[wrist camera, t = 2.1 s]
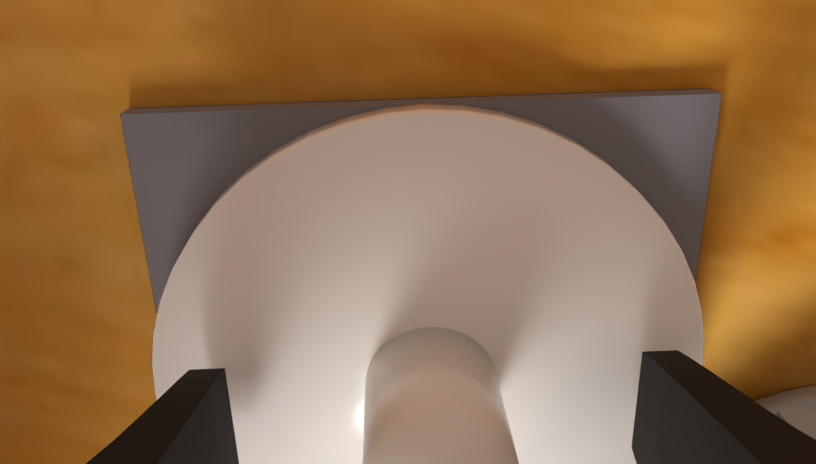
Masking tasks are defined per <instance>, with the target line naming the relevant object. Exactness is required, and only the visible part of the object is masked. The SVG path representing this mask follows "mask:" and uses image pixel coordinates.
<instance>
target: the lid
mask: <svg viewBox="0 0 816 464" xmlns="http://www.w3.org/2000/svg"><path fill="white" fill-rule="evenodd" d="M669 350H678V351H680V352H681V353H683V354H685V355H687V356H688V357H690V358H691V359H693V360H694V361H696V362H697V363H699V364H700V365H703V352H704V333H703V320H702V310H701V306H700V302H699V297H698V293H697V289H696V285H695V281H694V278H693V276H692V273H691V271H690V269H689V266H688V264H687V261H686V259H685V256H684V254H683V252H682V250H681V248H680V246H679V245H678V243H677V242H676V240H675V238H674V237H673V235H672V233H671V232H670V230H669V228H668V227H667V225H666V224H665V222H664V221H663V220H662V218H661V217H660V216H659V215H658V214H657V213H656V211H655V210H654V209H653V208H652V207H651V205H650V204H649V203H648V202H647V201H646V200H645V198H644V197H643V196H642V195H641V194H640V193H639V192H638V191H637V190H636V189H635V188H634V187H633V186H632V185H631V183H630V182H629V181H628V180H627V179H625V178H624V177H623V176H622V175H621V174H620V173H619V172H617V171H616V170H615V169H614V168H613V167H612V166H610V165H609V164H608V163H607V162H606V161H605V160H604V159H602V158H601V157H600V156H598V155H597V154H595V153H594V152H592V151H590V150H589V149H587V148H586V147H584V146H583V145H581V144H580V143H578V142H576V141H575V140H573V139H572V138H570V137H568V136H566V135H563V134H561V133H559V132H557V131H555V130H553V129H550V128H548V127H546V126H544V125H542V124H540V123H537V122H534V121H531V120H527V119H524V118H521V117H518V116H514V115H511V114H508V113H505V112H501V111H495V110H489V109H483V108H477V107H471V106H465V105H440V104H418V105H408V106H398V107H388V108H382V109H377V110H373V111H369V112H364V113H360V114H356V115H351V116H347V117H344V118H341V119H339V120H336V121H333V122H331V123H328V124H325V125H323V126H320V127H317V128H315V129H312V130H310V131H308V132H306V133H304V134H302V135H300V136H298V137H296V138H295V139H293V140H291V141H289V142H287V143H285V144H283V145H281V146H280V147H278V148H276V149H275V150H273V151H272V152H270V153H269V154H268V155H266V156H265V157H264V158H262V159H261V160H259V161H258V162H257V163H255V164H254V165H253V166H251V167H250V168H248V169H247V170H246V171H245V172H244V173H243V174H242V175H241V176H240V177H239V178H238V179H237V180H235V181H234V182H233V183H232V184H231V185H230V186H229V187H228V188H227V189H226V190H225V191H224V192H223V193H222V194H221V195H220V196H219V198H218V199H217V200H216V202H215V203H214V204H213V205H212V207H211V208H210V209H209V211H208V212H207V213H206V214H205V216H204V217H203V218H202V220H201V221H200V222H199V224H198V225H197V227H196V229H195V230H194V232H193V234H192V235H191V237H190V239H189V240H188V242H187V244H186V246H185V247H184V249H183V251H182V253H181V254H180V256H179V258H178V260H177V262H176V263H175V265H174V267H173V269H172V271H171V273H170V276H169V279H168V281H167V284H166V287H165V289H164V292H163V295H162V297H161V300H160V304H159V309H158V314H157V318H156V323H155V328H154V333H153V355H152V369H153V378H154V387H155V396H156V399H157V400H158V399H159V398H160V397H161V396H162V395H163V394H164V393H165V392H166V391H167V390H168V389H169V388H170V387H171V386H172V385H173V384H174V383H175V382H176V381H177V380H179V379H180V378H181V377H182V376H183V375H184V374H185V373H186V372H187V371H188V370H192V369H217V368H225V372H226V379H227V386H228V392H229V399H230V406H231V413H232V419H233V426H234V433H235V440H236V446H237V453H238V460H239V464H636V460H635V457H634V454H633V451H632V438H633V429H634V421H635V412H636V403H637V394H638V385H639V377H640V368H641V359H642V352H644V351H669Z"/></svg>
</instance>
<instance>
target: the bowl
mask: <svg viewBox="0 0 816 464" xmlns="http://www.w3.org/2000/svg"><path fill="white" fill-rule="evenodd" d="M755 402H756V403H758V404H759V405H761V406H762V407H764V408H765V409H767V410H768V411H770V412H772V413H773V414H775V415H776V416H778V417H779V418H781V419H782V420H784V421H786V422H787V423H789V424H790V425H792V426H794V427H795V428H797V429H798V430H800V431H802V432H803V433H805V434H807V435H809V436H810V437H812V438H814V439H815V440H816V385H812V386H807V387H803V388H798V389H793V390H788V391H784V392H780V393H777V394H774V395H771V396H768V397H764V398H761V399H758V400H756V401H755Z"/></svg>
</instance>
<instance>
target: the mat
mask: <svg viewBox="0 0 816 464" xmlns="http://www.w3.org/2000/svg"><path fill="white" fill-rule="evenodd" d="M721 96H722V93H720V92H718V91H716V90H714V89H689V90H660V91H631V92H602V93H573V94H544V95H515V96H486V97H457V98H427V99H398V100H369V101H340V102H311V103H282V104H253V105H224V106H195V107H166V108H137V109H127V110H126V111H124V112H123V113H121V114H120V117H121V122H122V128H123V133H124V139H125V144H126V149H127V155H128V160H129V166H130V171H131V177H132V182H133V188H134V193H135V198H136V204H137V209H138V215H139V220H140V226H141V231H142V237H143V242H144V247H145V253H146V258H147V264H148V269H149V275H150V280H151V286H152V291H153V296H154V302H155V307H156V313H157V314H158V309H159V304H160V300H161V297H162V295H163V292H164V289H165V287H166V284H167V281H168V279H169V276H170V273H171V271H172V269H173V267H174V265H175V263H176V262H177V260H178V258H179V256H180V254H181V253H182V251H183V249H184V247H185V246H186V244H187V242H188V240H189V239H190V237H191V235H192V234H193V232H194V230H195V229H196V227H197V225H198V224H199V222H200V221H201V220H202V218H203V217H204V216H205V214H206V213H207V212H208V211H209V209H210V208H211V207H212V205H213V204H214V203H215V202H216V200H217V199H218V198H219V196H220V195H221V194H222V193H223V192H224V191H225V190H226V189H227V188H228V187H229V186H230V185H231V184H232V183H233V182H234V181H235V180H237V179H238V178H239V177H240V176H241V175H242V174H243V173H244V172H245V171H246V170H247V169H248V168H250V167H251V166H253V165H254V164H255V163H257V162H258V161H259V160H261V159H262V158H264V157H265V156H266V155H268V154H269V153H270V152H272V151H273V150H275V149H276V148H278V147H280V146H281V145H283V144H285V143H287V142H289V141H291V140H293V139H295V138H296V137H298V136H300V135H302V134H304V133H306V132H308V131H310V130H312V129H315V128H317V127H320V126H323V125H325V124H328V123H331V122H333V121H336V120H339V119H341V118H344V117H347V116H351V115H356V114H360V113H364V112H369V111H373V110H377V109H382V108H388V107H398V106H408V105H418V104H440V105H465V106H471V107H477V108H483V109H489V110H495V111H501V112H505V113H508V114H511V115H514V116H518V117H521V118H524V119H527V120H531V121H534V122H537V123H540V124H542V125H544V126H546V127H548V128H550V129H553V130H555V131H557V132H559V133H561V134H563V135H566V136H568V137H570V138H572V139H573V140H575V141H576V142H578V143H580V144H581V145H583V146H584V147H586V148H587V149H589V150H590V151H592V152H594V153H595V154H597V155H598V156H600V157H601V158H602V159H604V160H605V161H606V162H607V163H608V164H609V165H610V166H612V167H613V168H614V169H615V170H616V171H617V172H619V173H620V174H621V175H622V176H623V177H624V178H625V179H627V180H628V181H629V182H630V183H631V185H632V186H633V187H634V188H635V189H636V190H637V191H638V192H639V193H640V194H641V195H642V196H643V197H644V198H645V200H646V201H647V202H648V203H649V204H650V205H651V207H652V208H653V209H654V210H655V211H656V213H657V214H658V215H659V216H660V217H661V218H662V220H663V221H664V222H665V224H666V225H667V227H668V228H669V230H670V232H671V233H672V235H673V237H674V238H675V240H676V242H677V243H678V245H679V246H680V248H681V250H682V252H683V254H684V256H685V259H686V261H687V264H688V266H689V269H690V271H691V273H692V276H693V278H694V281H695V282H696V275H697V268H698V260H699V253H700V246H701V239H702V232H703V225H704V218H705V210H706V203H707V196H708V189H709V182H710V175H711V168H712V161H713V153H714V146H715V139H716V132H717V125H718V118H719V111H720V104H721Z"/></svg>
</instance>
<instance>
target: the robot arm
mask: <svg viewBox="0 0 816 464" xmlns="http://www.w3.org/2000/svg"><path fill="white" fill-rule="evenodd" d="M632 451H633V454H634V457H635V460H636V464H816V440H815V439H814V438H812V437H810V436H809V435H807V434H805V433H803V432H802V431H800V430H798V429H797V428H795V427H794V426H792V425H790V424H789V423H787V422H786V421H784V420H782V419H781V418H779V417H778V416H776V415H775V414H773V413H772V412H770V411H768V410H767V409H765V408H764V407H762V406H761V405H759V404H758V403H756V402H755V401H753V400H752V399H750V398H749V397H747V396H746V395H744V394H743V393H741V392H740V391H738V390H737V389H736V388H734V387H733V386H731V385H730V384H728V383H727V382H725V381H724V380H722V379H721V378H719V377H718V376H717V375H715V374H714V373H712V372H711V371H709V370H708V369H706V368H705V367H703V366H702V365H700V364H699V363H697V362H696V361H694V360H693V359H691V358H690V357H688V356H687V355H685V354H683V353H681V352H680V351H678V350H669V351H644V352H642V359H641V368H640V377H639V385H638V394H637V403H636V412H635V421H634V429H633V438H632ZM86 464H239V460H238V453H237V446H236V440H235V433H234V426H233V419H232V413H231V406H230V399H229V392H228V386H227V379H226V372H225V368H217V369H192V370H188V371H187V372H186V373H185V374H184V375H183V376H182V377H181V378H180V379H179V380H177V381H176V382H175V383H174V384H173V385H172V386H171V387H170V388H169V389H168V390H167V391H166V392H165V393H164V394H163V395H162V396H161V397H160V398H159V399H158V400H157V401H156V402H155V403H154V404H153V405H152V406H150V407H149V408H148V409H147V410H146V411H145V412H144V413H143V414H142V415H141V416H140V417H139V418H138V419H137V420H135V421H134V422H133V423H132V424H131V425H130V426H129V427H128V428H127V429H126V430H125V431H124V432H123V433H121V434H120V435H119V436H118V437H117V438H116V439H115V440H114V441H113V442H111V443H110V444H109V445H108V446H107V447H105V448H104V449H103V450H102V451H101V452H99V453H98V454H97V455H96V456H95V457H93V458H92V459H91V460H90V461H89V462H88V463H86Z"/></svg>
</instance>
